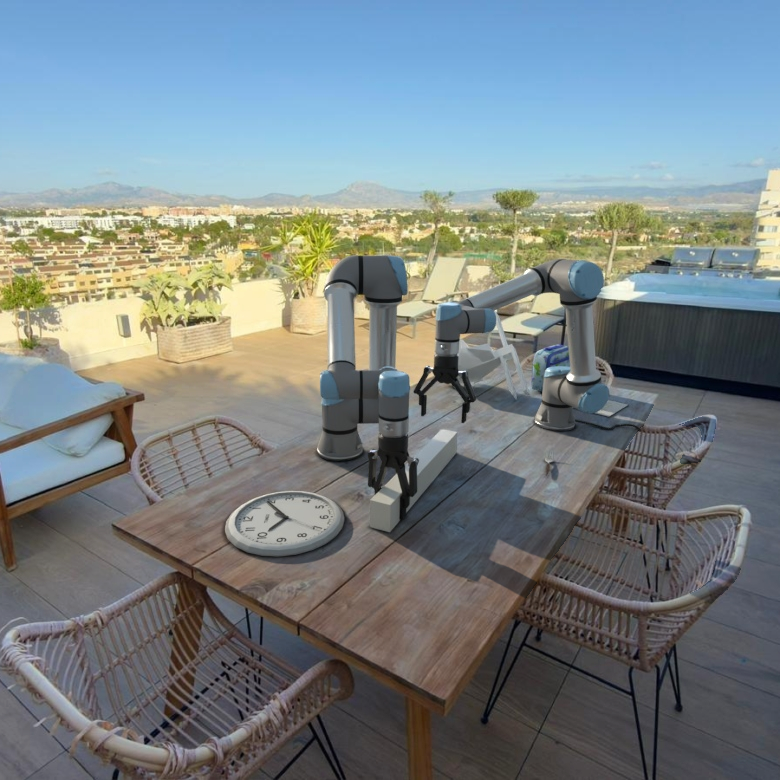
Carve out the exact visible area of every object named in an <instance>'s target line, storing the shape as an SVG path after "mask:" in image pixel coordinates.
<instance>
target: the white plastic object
mask: <svg viewBox="0 0 780 780" xmlns="http://www.w3.org/2000/svg"><path fill="white" fill-rule="evenodd" d="M494 312H495V315H496V328H497V332H498V335H499V338H500V342H501V345H502V347H500V348H498V349H496V350H495V349H493V348H492V347H491V346H490V344H489V343H488V342H487V343H483V344H479V345H473V346H469V345H468V343H466V342H465V340H464V339H463V338H460V341H459V353H458V354H457V355H458V356H459V359H458V371H461V372H464V371H468V378H469V381H470V383H473V384H477V383H480V382H482V381H484V378H485V377H486V376H487V375H489V374H490V373H492V372H494V371H495V370H496V369H497V368H499V367H500V366H502V370H503V373H504V376H505V380H506V383H507V386H508V390H509V393H510V394H511V395H512V397H513V398H514V399H515V400H517V392H516V391H517V390H516V388H515V385H514V381H513V378H512V375H511V371H510V369H509V365H508V361H510V360H513V363H514V366H515V369H516V372H517V376H518V380H519V382H520V385H521V389H522V391H523V393H524V395H525V396H526V397H528V396H531V395H530V390H529V388H528V387H529V386H528V384H527V381H526V378H525V375H524V371H523V369H522V368H523V367H522V366H521V362H520V359H519V355H518V352H517V349H516V347H515V346H514V345H513V343H511V344H508V341H507V337H506V334H505V331H504V328H503V325H502V321H501V318H500V315H499V314H498V312H497V310H495V311H494ZM457 379H458V381H459V383H460V384H464V383H463V381H462V378H460V376H459V375H458V376H457ZM443 384H444V385H445V386H449V385H452V384H451V383H450V384H446V383H443Z"/></svg>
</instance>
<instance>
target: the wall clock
mask: <svg viewBox="0 0 780 780" xmlns="http://www.w3.org/2000/svg"><path fill="white" fill-rule="evenodd" d="M344 515H345V514H344V511H343V509H342V508H341V507H340V505H338V503H336V502H335V501H334V500H333V499H332V500H331V499H330V498H329V497H327V496H324V495H322V494H318V493H316V492H311V491H310V492H309V491H305V490H304V491H303V490H284V491H276V492H272V493H267V494H264V495H260V496H257V497H255V498H252V499H250V500H248V501H246V502H245V503H243V504H241V505H240V506H238V508H236V509H235V510H233V511H232V512H231V513H230V515H229V517H228V518H227V520H226V521H225V527H224V532H225V536H226V538H227V540H228V541H229V542H230V544H231V545H233V546H234V547H235V548H237V549H240V550H241V551H244V552H245V553H248V554H252V555H256V556H262V557H287V556H294V555H296V556H297V555H299V554H304V553H307V552H311V551H313V550H316V549H318V548H320V547H322V546H324V545H327V544H328V543H329V542H331V541H332V540H333V539H335V538H336V537H337V536H338V534H339V533H340V532H341V530H342V529H343V527H344V522H345V516H344Z"/></svg>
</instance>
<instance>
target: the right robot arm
mask: <svg viewBox="0 0 780 780" xmlns="http://www.w3.org/2000/svg"><path fill="white" fill-rule="evenodd" d="M604 285H605V277H604V273H603V271H602V269H601V267H600V266H599V265H597V264H596V263H594V262H592V261H587V260H583V259H581V260H580V259H568V258H567V259H566V258H556V259H552V260H548V261H545V262H543V263H540V264H538V265H536V266H533V267H531V268H528V269H526V270H525V271H524V274H521V275H519V276H516V277H514V278H512V279H510V280H507V281H504V282H503V283H500V284H498V285H496V286H493V287H490V288H487V289H486V290H483V291H481V292H479V293H476V294H474V295H471V296H469V297H467V298H464V299H460V300H458V301H447V302H442V303H439V304H437V306H436V311H435V318H434V319H435V330H434V332H435V334H434V335H435V336H434V353H435V354H434V355H433V367H431V366H430V365H427V366H425V367H423V373H422V375H421V376H420V378H419V380H418V382H417V384H416V385H415V387H414V389H413V394H414V395H418V405H419V406H420V417H425V416H426V415H427V399H428V396H427V394H426V393H427V392H428V391H429V390H430V389H431V388H432V387H433V386H434V385H435V384H437V382H438V383H439V384H444V383H446V384H450V383H451V384H450V385H451V386H452V387H453V388H454V389H455V390H456V392H457V393H458V395H459V396H460V397H461V399H462V400H463V402H462V405H461V408H462V409H461V420H460V423H461V424H464V423H466V422H467V414H468V413H469V412H470V411H471V403H473V404H474V403H475V402H476V401H477V396H476V393H475V391H474V388H473V386H472V382H470V381H469V378H468V371H464V372H461V371H458V359H459V356H458V355H457V354H458V353H459V341H460V339H461V335H469V334H485V333H492V332H493V331H494V330H495V328H496V327H497V325H496V315H495V312H494V311H497V310H499V309H502V308H504V307H506V306H509V305H512V304H514V303H516V302H518V301H520V300H524V299H526V298H527V297H530V296H534V297H537V296H540V295H542V294H558V295H559V303H560V305H561V306H562V307H564V308H565V321H566V333H567V346H568V347H569V360H570V367H566V366H556V367H549V368H547V369H546V370H545V374H544V380H543V391H541V402H540V405H539V407H538V410H537V411H536V413H535V417H534V424H535V425H536V426H537V427H539V428H542V429H544V430H549V431H556V432H567V431H572V430H574V429H575V428H576V423H577V424H584V425H588V426H592V427H596V428H599V429H602V430H606V431H607V430H608V431H612V430H614V429H615V428H620V427H631V428H634V429H636V430H638V431H642V429H641V427H639V426H638V425H636V424H632V423H617V424H613V425H612V426H604V425H601V424H597V423H593V422H589V421H584V420H580V419H576V418H575V417H576V416H575V413H574V409H575V410H578V411H579V412H581V413H586V414H589V415H590V414H591V415H593V414H596V412H598V411H599V410H601V409H602V408H603V407H604V405H605V404H606V403H607V401H608V400H609V398H610V388H609V387H608V386H607V385H606V384H605V383H603V382H602V373H601V371H599V370H598V369H597V361H596V343H595V328H594V311H593V310H594V309H593V308H594V307H593V305H594V304H595V303H596V302H597V300H598V296H599V295H600V294H601V292H602V289H603V288H604ZM431 373H432V374H433V378H432V379H431V380H430V381H429V382H428V384H426V385H425V387H423V386H424V384H425V382H426V381H427V378H429V375H430V374H431ZM458 375H459V376H460V378H462V381H463V383H459V381H458V379H457V376H458ZM462 384H463V385H464V387H463V385H462ZM422 387H423V389H422ZM464 388H465V389H464Z"/></svg>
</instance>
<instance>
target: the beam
mask: <svg viewBox="0 0 780 780" xmlns="http://www.w3.org/2000/svg"><path fill="white" fill-rule="evenodd" d="M457 451H458V431H455V430H448V429H442V428H441V429H440V430H439V431H438V432H437V433H436V434H435V435H434V436H433V437H432V438H431V439H430V440H429V441H428V442H427V443H426V444H425V445H424V446H423V447H422V448H421V449H420V450H419V451H418V452H417V453H416V454H415V455H414V456H413V457H412V458H414V459H415V458H418V459H419V462H418V465H417V493H416V494H415V495H414V496H413V497H410V505H409V506H408V508H406V514H407V513H408V511H409V510H410V509H411V508H412V507H413V506H414V504H415V503H416V502H417V501H418V500H419V498H420V497H421V496H422V495H423V494H424V492H426V490H427V489H428V488H429V486H431V484H432V483H433V482H434V480H435V479H437V477H438V476H439V475H440V473H441V472H442V471H443V470H444V469H445V467H447V465H448V464H449V462H450V461H451V460H452V459H453V458H454V457H455V456H456V454H457ZM405 471H406V475H407V479H408V483H409V466H408V462H407V463H405ZM382 487H383V488H382ZM382 487H381V488H382V489H381V490H380V491H379V492H378V493H377V494H376V495H375V494H374V495H373V496H372V497H371V498H370V499H369V528H372V529H375V530H379V531H383V532H386V533H391V532H392V531H393V529H394V528H395V527H396V526H397V525H398V523H399V522H400V521H401V520H399V516H400V497H401V496H402V491H401V487H400V483H399V479H398V475H397V473H395V475H394V476H393V477H392V478H391V479H390V480H389V481H388V482H386V483H385V484H384V486H382Z"/></svg>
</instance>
